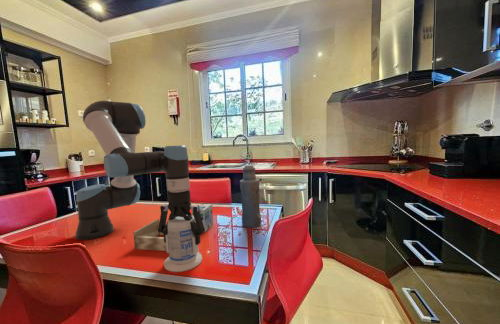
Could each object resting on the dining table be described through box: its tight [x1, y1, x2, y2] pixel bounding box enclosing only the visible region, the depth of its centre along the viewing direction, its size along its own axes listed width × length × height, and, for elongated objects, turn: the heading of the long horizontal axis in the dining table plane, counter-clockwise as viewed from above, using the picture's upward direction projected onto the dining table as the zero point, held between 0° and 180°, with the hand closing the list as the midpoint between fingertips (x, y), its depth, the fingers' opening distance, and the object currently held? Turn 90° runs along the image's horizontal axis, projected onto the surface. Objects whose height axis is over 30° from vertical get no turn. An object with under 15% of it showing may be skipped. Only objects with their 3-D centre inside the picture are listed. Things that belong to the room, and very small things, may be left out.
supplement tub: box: [166, 215, 197, 264], centre depth 79 cm, size 10×10×15 cm
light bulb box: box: [191, 203, 214, 233], centre depth 110 cm, size 11×7×11 cm, turn 168°
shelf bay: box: [132, 218, 167, 252], centre depth 96 cm, size 18×15×7 cm
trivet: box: [163, 251, 203, 273], centre depth 79 cm, size 13×13×1 cm
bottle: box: [239, 164, 262, 228], centre depth 111 cm, size 10×10×30 cm
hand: (182, 252), depth 79 cm, fingers closed on supplement tub, 9 cm apart
